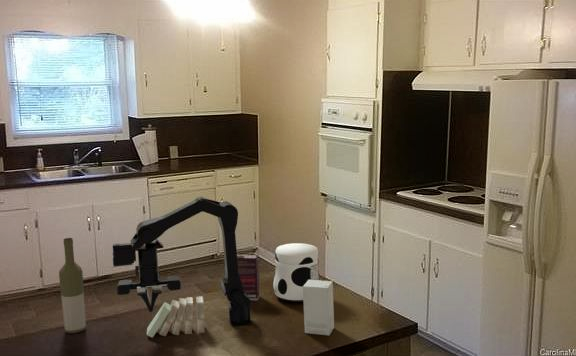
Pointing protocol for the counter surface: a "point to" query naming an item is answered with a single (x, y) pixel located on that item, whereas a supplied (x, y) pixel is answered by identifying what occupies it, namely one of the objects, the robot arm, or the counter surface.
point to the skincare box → (318, 307)
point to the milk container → (294, 270)
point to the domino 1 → (158, 319)
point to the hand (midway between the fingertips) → (151, 311)
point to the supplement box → (249, 274)
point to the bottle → (72, 291)
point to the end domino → (200, 314)
